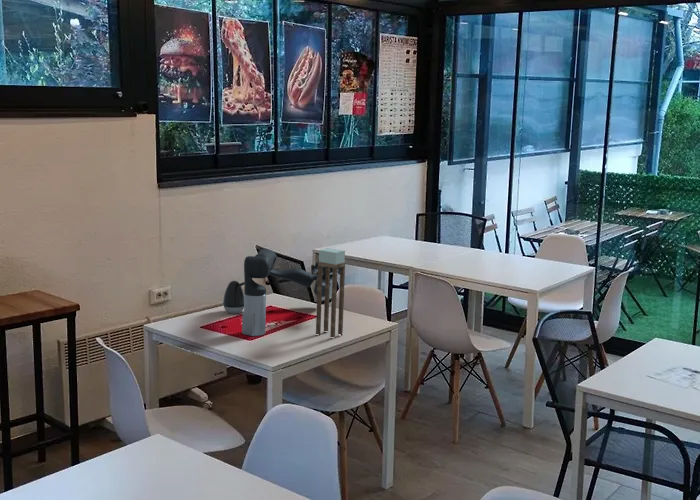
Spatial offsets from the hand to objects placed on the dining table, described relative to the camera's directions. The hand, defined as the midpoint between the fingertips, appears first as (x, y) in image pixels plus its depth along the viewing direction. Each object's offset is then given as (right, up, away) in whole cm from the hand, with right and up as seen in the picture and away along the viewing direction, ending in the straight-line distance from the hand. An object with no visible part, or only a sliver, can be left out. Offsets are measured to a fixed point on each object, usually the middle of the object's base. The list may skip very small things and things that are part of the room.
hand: (327, 264), depth 354 cm
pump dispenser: (-44, -23, +16) cm, 52 cm away
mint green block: (+2, +2, -17) cm, 17 cm away
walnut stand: (+1, -30, -16) cm, 34 cm away
